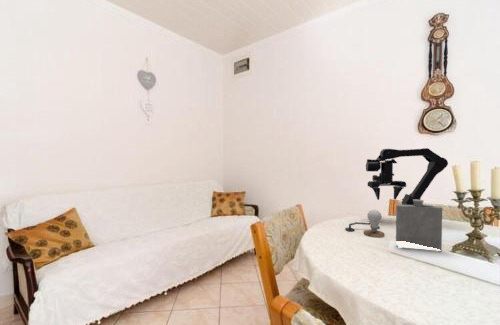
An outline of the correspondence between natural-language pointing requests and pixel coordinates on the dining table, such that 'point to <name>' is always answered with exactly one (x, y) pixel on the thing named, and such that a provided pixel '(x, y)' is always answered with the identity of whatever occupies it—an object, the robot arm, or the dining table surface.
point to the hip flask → (419, 224)
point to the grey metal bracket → (356, 223)
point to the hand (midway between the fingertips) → (386, 199)
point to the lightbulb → (374, 219)
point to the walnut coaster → (372, 234)
